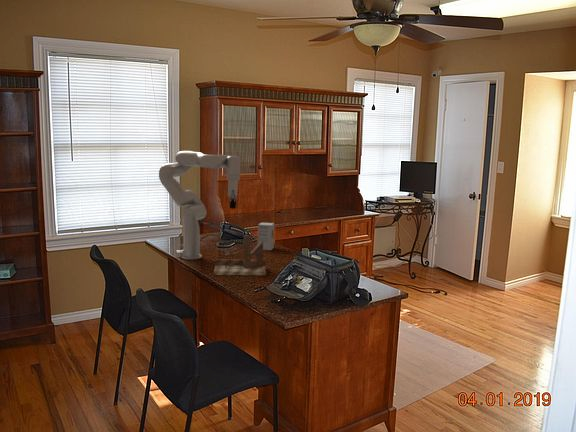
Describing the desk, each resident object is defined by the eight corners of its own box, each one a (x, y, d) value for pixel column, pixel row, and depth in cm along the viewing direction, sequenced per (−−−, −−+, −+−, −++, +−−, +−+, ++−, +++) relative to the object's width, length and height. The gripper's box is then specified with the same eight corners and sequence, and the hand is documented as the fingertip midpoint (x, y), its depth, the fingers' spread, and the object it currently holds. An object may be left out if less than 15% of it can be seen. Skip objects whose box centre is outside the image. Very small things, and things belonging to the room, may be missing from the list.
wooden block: (263, 266, 283) (263, 235, 279) (244, 268, 279) (244, 236, 276) (261, 265, 286) (261, 234, 283) (242, 266, 283) (242, 234, 280)
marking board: (213, 274, 272) (213, 265, 271) (215, 267, 286) (215, 259, 285) (265, 275, 274) (266, 266, 273) (265, 268, 288) (265, 259, 287)
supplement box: (271, 250, 330) (271, 225, 327) (257, 249, 331) (257, 224, 328) (273, 247, 339) (274, 222, 336) (260, 246, 341) (261, 222, 338)
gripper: (227, 175, 297) (227, 204, 300) (226, 178, 280) (225, 209, 283) (240, 176, 298) (239, 204, 300) (239, 179, 281) (239, 209, 283)
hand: (232, 207), depth 292 cm, fingers open, 9 cm apart
